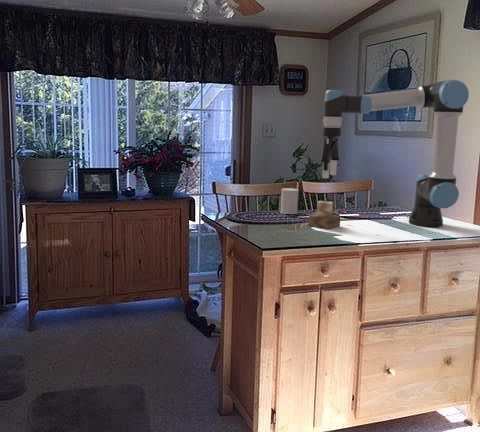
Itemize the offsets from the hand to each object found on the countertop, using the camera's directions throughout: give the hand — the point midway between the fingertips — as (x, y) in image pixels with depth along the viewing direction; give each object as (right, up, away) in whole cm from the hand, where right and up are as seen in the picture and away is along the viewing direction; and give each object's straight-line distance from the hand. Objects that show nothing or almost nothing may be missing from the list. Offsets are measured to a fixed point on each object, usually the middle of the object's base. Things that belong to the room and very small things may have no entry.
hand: (329, 176), depth 233 cm
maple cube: (-2, -17, +3) cm, 17 cm away
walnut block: (-2, -22, +4) cm, 22 cm away
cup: (-15, -16, +30) cm, 37 cm away
